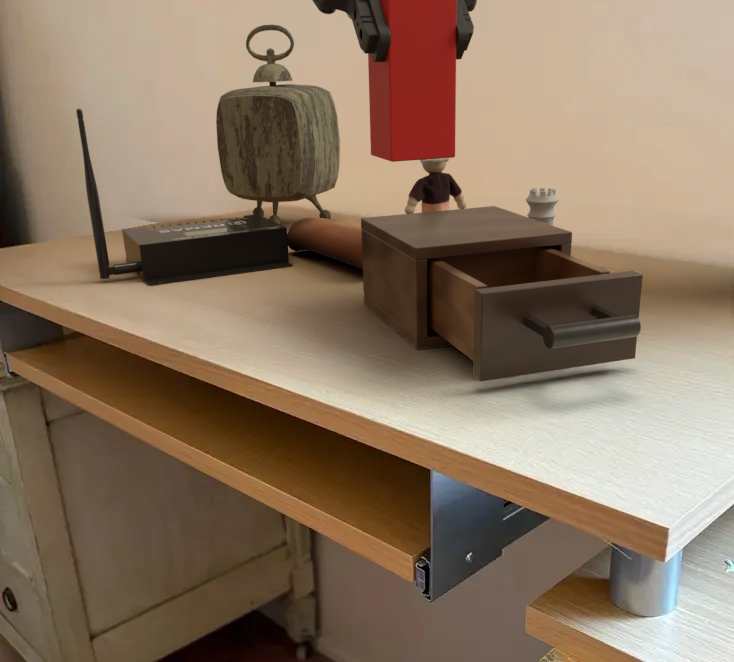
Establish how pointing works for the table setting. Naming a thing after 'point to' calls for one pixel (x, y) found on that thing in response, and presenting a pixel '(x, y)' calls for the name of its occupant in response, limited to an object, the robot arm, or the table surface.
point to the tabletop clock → (278, 137)
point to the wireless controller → (187, 243)
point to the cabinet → (435, 240)
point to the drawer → (532, 311)
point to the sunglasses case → (327, 239)
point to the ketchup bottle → (415, 83)
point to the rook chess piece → (542, 205)
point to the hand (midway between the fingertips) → (421, 49)
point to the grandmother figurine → (435, 189)
